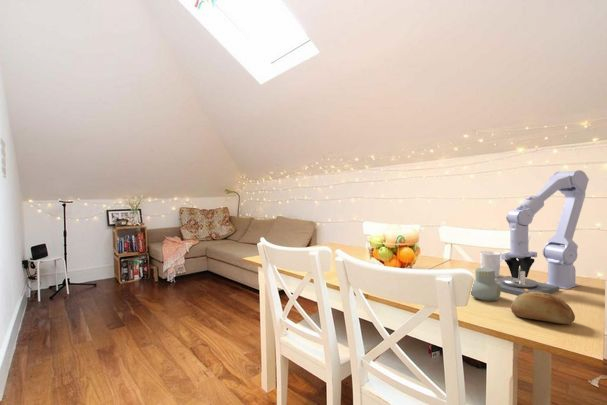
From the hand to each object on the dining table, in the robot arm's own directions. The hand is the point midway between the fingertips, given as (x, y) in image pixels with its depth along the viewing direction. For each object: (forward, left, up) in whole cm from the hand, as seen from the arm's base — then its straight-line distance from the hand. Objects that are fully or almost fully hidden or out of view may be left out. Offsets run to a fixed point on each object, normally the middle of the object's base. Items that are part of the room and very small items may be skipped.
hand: (519, 277), depth 125 cm
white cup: (-9, -17, -4) cm, 20 cm away
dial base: (0, 0, -4) cm, 4 cm away
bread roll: (+26, +20, -5) cm, 33 cm away
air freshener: (+21, 0, -4) cm, 21 cm away
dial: (0, 0, -3) cm, 3 cm away
